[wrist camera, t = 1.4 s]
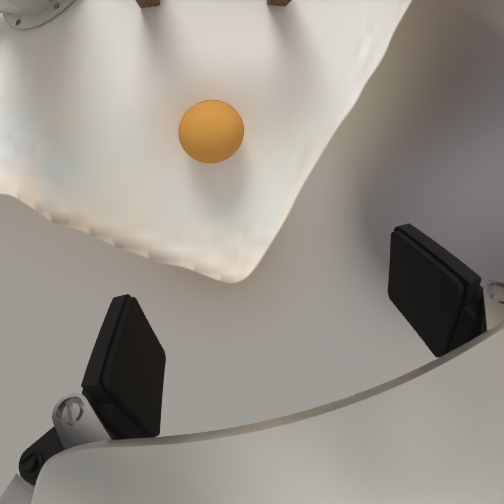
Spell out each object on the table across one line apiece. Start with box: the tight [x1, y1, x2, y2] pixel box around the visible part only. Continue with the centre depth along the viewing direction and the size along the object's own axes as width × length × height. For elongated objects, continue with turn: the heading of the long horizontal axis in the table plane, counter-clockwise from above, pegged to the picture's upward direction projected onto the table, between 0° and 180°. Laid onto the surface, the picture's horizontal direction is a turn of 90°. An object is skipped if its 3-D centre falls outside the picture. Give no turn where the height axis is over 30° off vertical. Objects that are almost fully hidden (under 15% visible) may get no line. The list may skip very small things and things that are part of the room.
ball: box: [179, 100, 244, 163], centre depth 25 cm, size 6×6×6 cm
